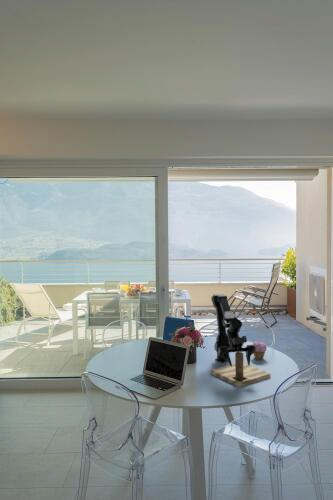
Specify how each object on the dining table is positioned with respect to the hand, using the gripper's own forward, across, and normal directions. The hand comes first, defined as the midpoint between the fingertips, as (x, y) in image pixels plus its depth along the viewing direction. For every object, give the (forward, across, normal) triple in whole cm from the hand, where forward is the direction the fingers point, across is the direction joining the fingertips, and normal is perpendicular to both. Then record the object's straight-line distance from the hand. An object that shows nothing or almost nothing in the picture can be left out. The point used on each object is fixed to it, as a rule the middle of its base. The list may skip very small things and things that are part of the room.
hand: (240, 365), depth 205 cm
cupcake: (-18, +22, +31) cm, 42 cm away
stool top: (-1, +3, +14) cm, 14 cm away
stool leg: (+5, 0, +7) cm, 9 cm away
